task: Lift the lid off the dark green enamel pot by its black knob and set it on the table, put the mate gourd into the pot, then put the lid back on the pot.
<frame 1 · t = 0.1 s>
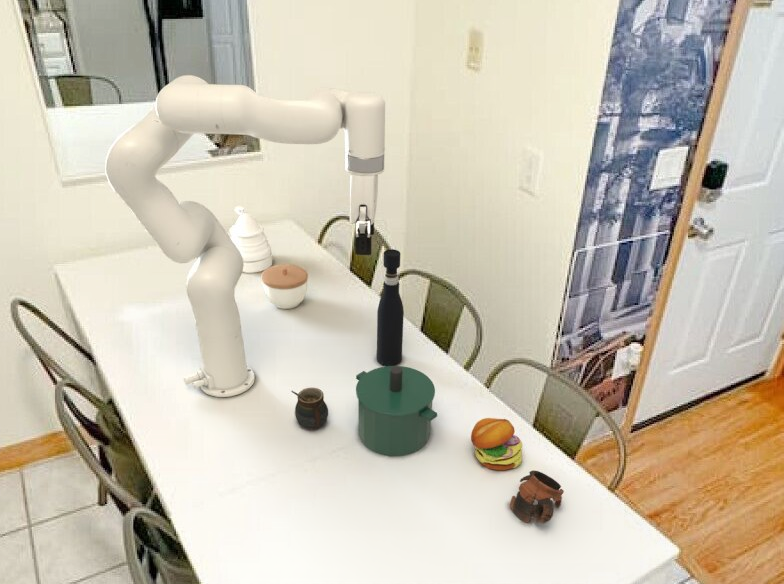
hand: (364, 243, 133), 37 cm above the table, tool pointing down, fingers open, 9 cm apart
mate gourd: (311, 424, 142), on the table
lid: (395, 390, 135), point 11 cm above the table, touching pot
cheeseburger: (494, 457, 137), on the table
pot: (394, 431, 141), on the table
lidded bowl: (287, 303, 184), on the table
brown hollow piece: (535, 511, 125), on the table
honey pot: (251, 263, 203), on the table
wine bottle: (389, 360, 164), on the table
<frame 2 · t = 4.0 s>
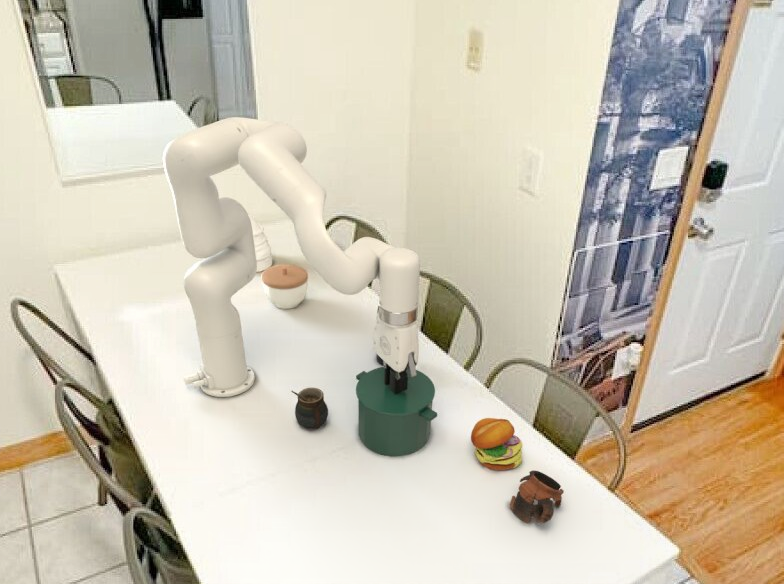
hand: (395, 386, 134), 13 cm above the table, tool pointing down, fingers closed on lid, 2 cm apart
lid: (395, 390, 135), point 12 cm above the table, touching gripper, pot
everything else where it was.
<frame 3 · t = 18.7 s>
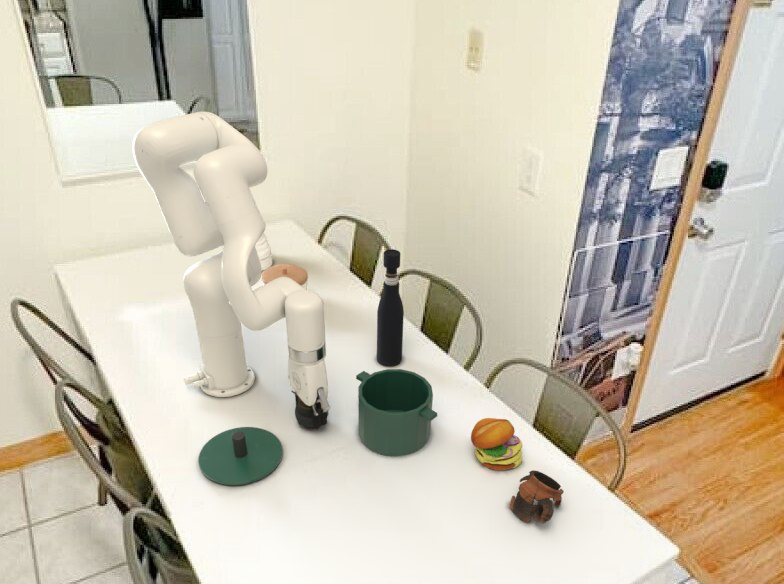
hand: (311, 415, 141), 2 cm above the table, tool pointing down, fingers closed on mate gourd, 7 cm apart
mate gourd: (311, 424, 142), on the table, touching gripper
lid: (241, 455, 132), point 1 cm above the table
everything else where it was.
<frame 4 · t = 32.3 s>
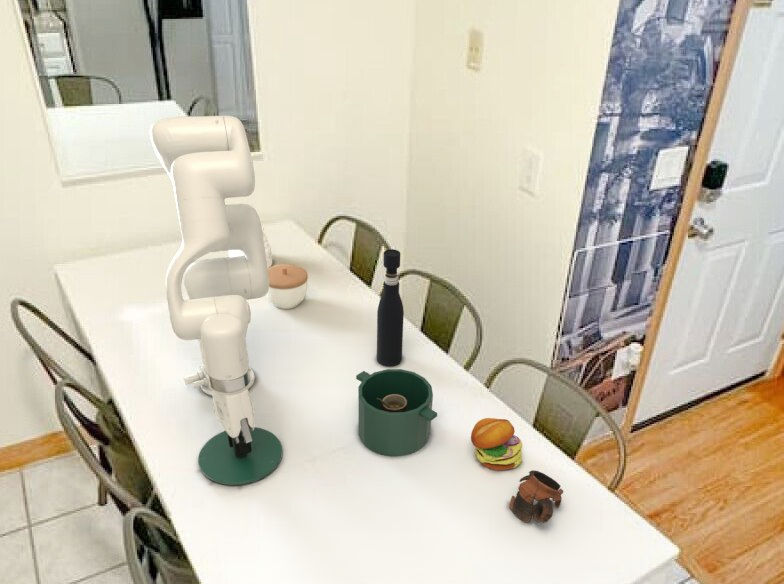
hand: (240, 448, 131), 3 cm above the table, tool pointing down, fingers closed on lid, 2 cm apart
mate gourd: (393, 430, 141), resting in pot
lid: (241, 455, 132), point 1 cm above the table, touching gripper
everything else where it was.
when the fingers open (13 cm above the table, at t = 40.5 s): lid stays where it is, resting on pot.
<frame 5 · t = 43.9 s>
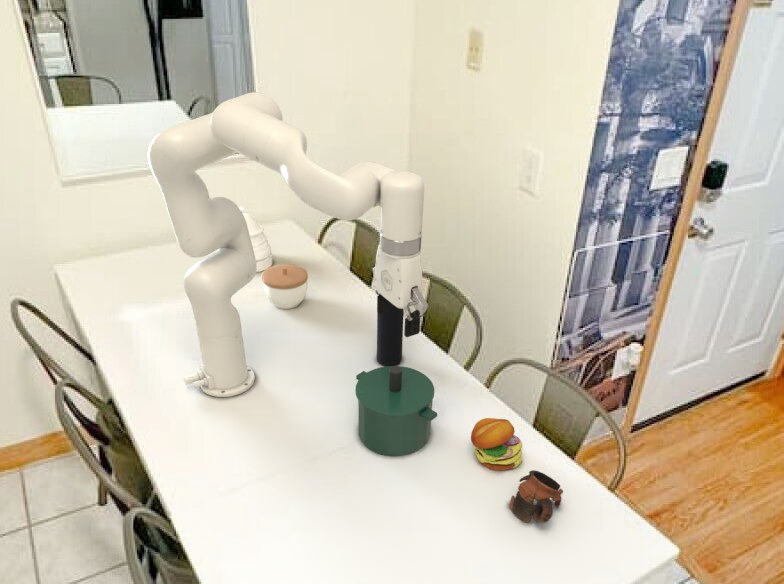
hand: (397, 323, 125), 28 cm above the table, tool pointing down, fingers open, 9 cm apart
lid: (395, 391, 135), point 11 cm above the table, touching pot
everything else where it was.
at the end: mate gourd inside the target area in the pot (0.2 cm from its centre), point 0.3 cm above the pot's base; lid 0.1 cm off-centre on the pot, point 11.5 cm above the pot's base; lid tilted 0° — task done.
